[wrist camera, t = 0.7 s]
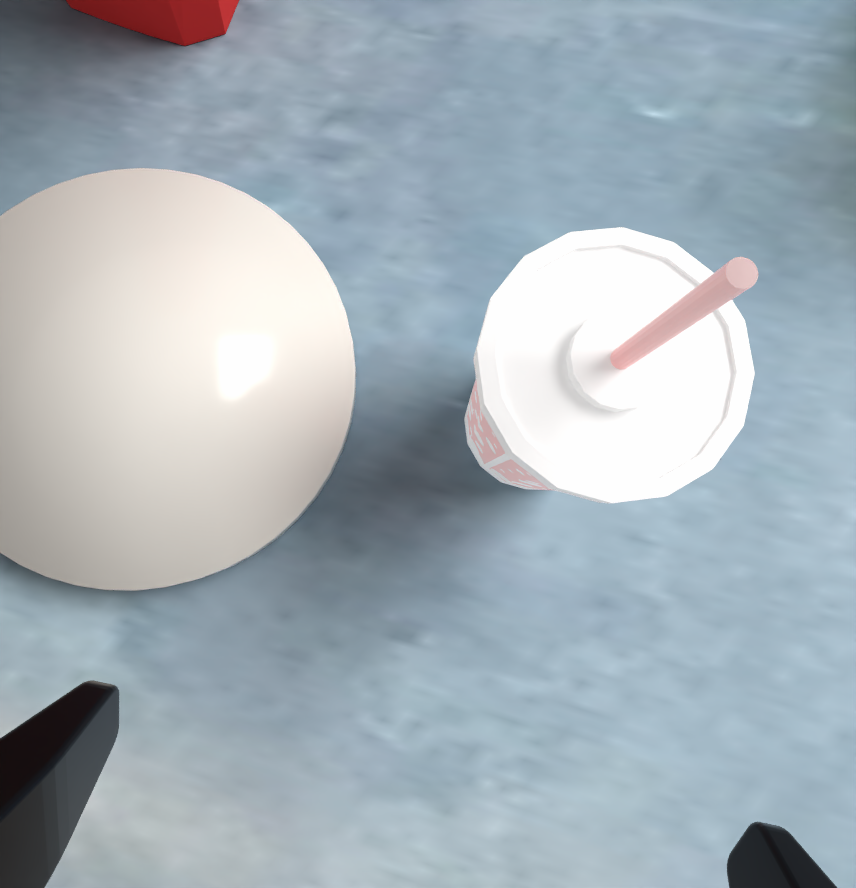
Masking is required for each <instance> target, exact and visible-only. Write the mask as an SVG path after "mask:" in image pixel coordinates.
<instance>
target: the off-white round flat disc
mask: <svg viewBox="0 0 856 888" xmlns="http://www.w3.org/2000/svg"><path fill="white" fill-rule="evenodd" d="M355 396H356V365H355V355H354V346H353V341H352V337H351V332H350V328H349V324H348V320H347V315H346V312H345V309H344V306H343V304H342V301H341V299H340V296H339V293H338V291H337V288H336V286H335V284H334V283H333V281H332V279H331V277H330V275H329V273H328V272H327V270H326V268H325V266H324V264H323V263H322V262H321V260H320V259H319V258H318V256H317V255H316V253H315V252H314V251H313V249H312V248H311V247H310V245H309V244H308V243H307V242H306V241H305V240H304V239H303V237H302V236H301V235H300V234H299V233H298V232H297V231H296V230H295V229H294V228H293V227H292V226H291V225H290V224H289V223H288V222H286V221H285V220H284V219H283V218H281V217H280V216H279V215H278V214H276V213H275V212H274V211H273V210H271V209H270V208H269V207H267V206H266V205H264V204H262V203H261V202H259V201H258V200H256V199H254V198H253V197H251V196H249V195H248V194H246V193H244V192H242V191H239V190H237V189H235V188H233V187H230V186H228V185H226V184H224V183H222V182H218V181H215V180H212V179H209V178H205V177H202V176H199V175H195V174H190V173H184V172H179V171H173V170H166V169H146V168H136V169H121V170H110V171H105V172H100V173H95V174H89V175H84V176H81V177H78V178H75V179H72V180H69V181H65V182H62V183H59V184H57V185H54V186H52V187H50V188H48V189H46V190H43V191H41V192H39V193H37V194H35V195H32V196H31V197H29V198H27V199H26V200H24V201H23V202H21V203H19V204H18V205H16V206H14V207H13V208H11V209H9V210H8V211H7V212H5V213H4V214H3V215H1V216H0V553H2V554H3V555H5V556H6V557H8V558H10V559H11V560H13V561H14V562H16V563H18V564H19V565H21V566H23V567H26V568H28V569H30V570H32V571H35V572H37V573H39V574H41V575H44V576H46V577H48V578H52V579H55V580H59V581H62V582H66V583H69V584H73V585H76V586H82V587H89V588H96V589H103V590H145V589H153V588H162V587H168V586H172V585H176V584H180V583H184V582H189V581H193V580H196V579H200V578H203V577H207V576H209V575H212V574H214V573H217V572H220V571H222V570H225V569H227V568H230V567H232V566H234V565H236V564H238V563H240V562H242V561H243V560H245V559H247V558H249V557H251V556H253V555H255V554H256V553H258V552H259V551H261V550H262V549H264V548H265V547H266V546H268V545H269V544H270V543H272V542H273V541H275V540H276V539H277V538H279V537H280V536H281V535H282V534H283V533H284V532H285V531H287V530H288V529H289V528H290V527H291V526H292V525H293V524H294V523H295V522H296V521H297V520H298V519H299V518H300V517H301V516H302V515H303V514H304V513H305V511H306V510H307V509H308V508H309V507H310V505H311V504H312V503H313V502H314V500H315V499H316V498H317V497H318V495H319V494H320V492H321V491H322V489H323V487H324V486H325V484H326V483H327V481H328V479H329V478H330V476H331V475H332V473H333V471H334V468H335V466H336V464H337V462H338V460H339V458H340V456H341V453H342V451H343V449H344V445H345V442H346V439H347V436H348V433H349V429H350V426H351V422H352V416H353V410H354V404H355Z"/></svg>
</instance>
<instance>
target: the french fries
mask: <svg viewBox="0 0 856 888" xmlns="http://www.w3.org/2000/svg"><path fill="white" fill-rule="evenodd" d="M66 1H67V2H68V4H69V5H70V7H71V8H74V9H76V10H79V11H81V12H84V13H86V14H89V15H91V16H94V17H97V18H99V19H102V20H105V21H108V22H110V23H113V24H116V25H119V26H122V27H124V28H127V29H130V30H134V31H137V32H140V33H143V34H146V35H149V36H152V37H155V38H159V39H162V40H166V41H169V42H173V43H176V44H180V45H183V46H186V45H190V44H193V43H196V42H200V41H203V40H206V39H210V38H213V37H217V36H220V35H223V34H226V31H227V29H228V26H229V24H230V21H231V19H232V16H233V14H234V12H235V9H236V7H237V4H238V2H239V0H66Z"/></svg>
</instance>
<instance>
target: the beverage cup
mask: <svg viewBox="0 0 856 888" xmlns="http://www.w3.org/2000/svg"><path fill="white" fill-rule="evenodd" d="M757 278H758V270H757V267H756V266H755V264H754V263H753V262H752V261H751V260H749V259H748V258H744V257H736V258H734V259H732V260H730V261H729V262H728V263H727V264H725V265H724V266H723V267H721V268H720V269H719V270H717V271H716V272H715V273H713V272H712V271H711V270H709V269H708V268H707V267H705V266H704V265H703V264H702V263H700V262H699V261H698V260H696V259H695V258H694V257H692V256H691V255H690V254H688V253H687V252H686V251H684V250H683V249H682V248H681V247H679V246H678V245H677V244H675V243H674V242H671V241H668V240H664V239H661V238H657V237H654V236H651V235H647V234H644V233H640V232H637V231H633V230H630V229H627V228H623V227H620V228H609V229H598V230H587V231H577V232H569V233H567V234H566V235H564V236H562V237H560V238H558V239H556V240H554V241H552V242H550V243H549V244H547V245H545V246H543V247H541V248H539V249H537V250H535V251H533V252H532V253H530V254H528V255H526V256H524V257H523V258H522V260H521V261H520V262H519V263H518V264H517V266H516V267H515V268H514V269H513V271H512V272H511V273H510V274H509V276H508V277H507V278H506V279H505V281H504V282H503V283H502V284H501V286H500V287H499V288H498V289H497V291H496V292H495V293H494V294H493V296H492V297H491V299H490V301H489V304H488V308H487V311H486V315H485V318H484V322H483V326H482V329H481V333H480V337H479V340H478V344H477V348H476V351H475V355H474V366H475V373H476V380H475V383H474V386H473V389H472V393H471V396H470V400H469V403H468V407H467V411H466V414H465V418H464V420H465V428H466V435H467V443H468V445H469V447H470V449H471V451H472V452H473V454H474V456H475V458H476V459H477V461H478V463H479V465H480V466H481V467H482V468H483V469H485V470H486V471H487V472H488V473H490V474H491V475H492V476H493V477H495V478H496V479H497V480H499V481H500V482H502V483H505V484H509V485H512V486H516V487H519V488H523V489H533V490H556V491H560V492H563V493H567V494H570V495H574V496H577V497H581V498H584V499H588V500H591V501H595V502H599V503H603V502H604V503H617V502H625V501H633V500H641V499H649V498H657V497H665V496H668V495H670V494H671V493H673V492H675V491H676V490H678V489H680V488H681V487H683V486H685V485H686V484H688V483H690V482H691V481H693V480H695V479H697V478H698V477H700V476H702V475H703V474H705V473H707V472H708V471H710V470H712V469H713V468H714V466H715V465H716V464H717V462H718V461H719V459H720V458H721V457H722V455H723V454H724V452H725V451H726V450H727V448H728V447H729V445H730V444H731V443H732V441H733V440H734V438H735V437H736V436H737V434H738V433H739V431H740V430H741V428H742V427H743V426H744V421H745V417H746V412H747V407H748V403H749V398H750V393H751V388H752V384H753V379H754V374H755V373H754V367H753V362H752V356H751V351H750V345H749V340H748V334H747V329H746V324H745V320H744V318H743V317H742V315H741V314H740V312H739V310H738V309H737V307H736V306H735V304H734V302H733V301H732V299H733V298H735V297H736V296H738V295H740V294H741V293H743V292H744V291H746V290H747V289H749V288H750V287H752V286H753V285H754V284H755V283H756V281H757Z"/></svg>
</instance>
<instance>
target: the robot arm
mask: <svg viewBox="0 0 856 888" xmlns="http://www.w3.org/2000/svg"><path fill="white" fill-rule="evenodd" d="M118 729H119V690H118V688H117V687H116V686H115V685H112V684H107V683H102V682H97V681H87V682H84V683H82V684H80V685H79V686H77V687H76V688H74V689H73V690H72V691H70V692H69V693H67V694H66V695H64V696H63V697H61V698H60V699H58V700H57V701H55V702H54V703H52V704H51V705H49V706H48V707H46V708H45V709H43V710H42V711H40V712H39V713H37V714H36V715H34V716H33V717H31V718H30V719H28V720H27V721H26V722H24V723H23V724H21V725H20V726H18V727H17V728H15V729H14V730H12V731H11V732H9V733H8V734H6V735H5V736H3V737H2V738H0V888H44V887H45V886H46V884H47V882H48V881H49V879H50V877H51V875H52V874H53V872H54V870H55V868H56V866H57V864H58V863H59V861H60V859H61V857H62V855H63V853H64V851H65V849H66V847H67V845H68V842H69V840H70V838H71V836H72V834H73V832H74V830H75V827H76V825H77V823H78V821H79V819H80V817H81V814H82V812H83V810H84V808H85V806H86V804H87V802H88V799H89V797H90V795H91V793H92V791H93V789H94V786H95V784H96V782H97V780H98V778H99V776H100V773H101V771H102V769H103V767H104V765H105V763H106V760H107V758H108V756H109V754H110V752H111V750H112V748H113V745H114V743H115V740H116V737H117V734H118ZM727 875H728V882H729V888H837V887H836V886H835V885H834V883H833V882H832V881H831V880H830V879H829V878H828V876H827V875H826V874H825V873H824V872H823V871H822V870H821V868H820V867H819V866H818V865H817V864H816V863H815V862H814V860H813V859H812V858H811V857H810V856H809V855H808V853H807V852H806V851H805V850H804V849H803V848H802V847H801V845H800V844H799V843H798V842H797V841H796V840H795V838H794V837H793V836H792V835H791V834H790V833H789V832H788V831H787V830H785V829H784V828H782V827H779V826H776V825H771V824H767V823H762V822H754V823H752V824H751V825H750V826H749V827H748V828H747V830H746V831H745V832H744V834H743V835H742V837H741V838H740V840H739V841H738V843H737V844H736V845H735V847H734V848H733V850H732V851H731V853H730V855H729V858H728V863H727Z"/></svg>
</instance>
